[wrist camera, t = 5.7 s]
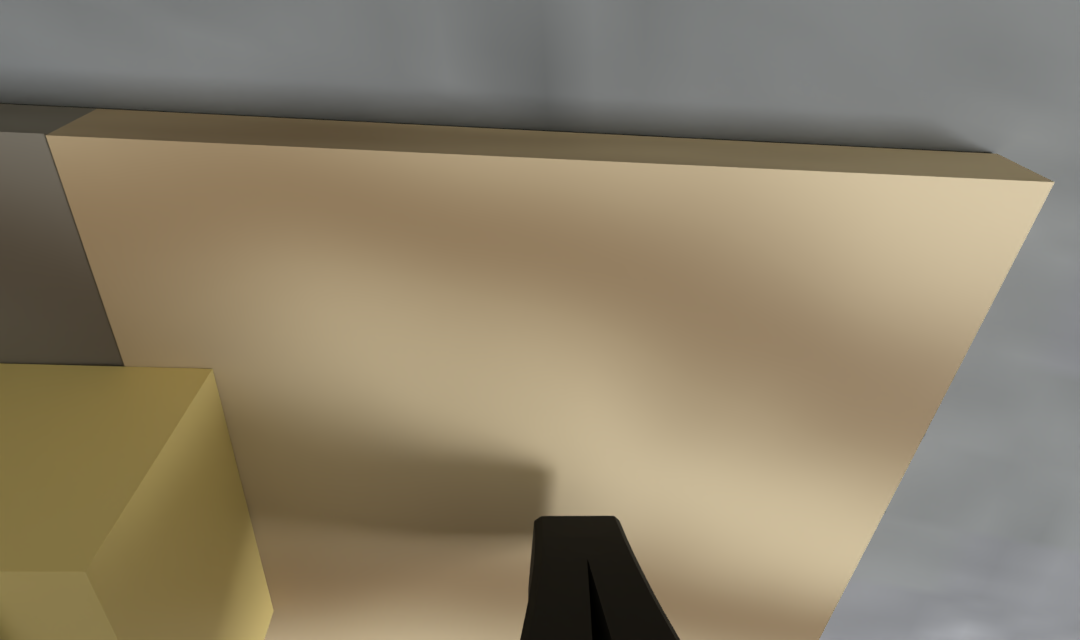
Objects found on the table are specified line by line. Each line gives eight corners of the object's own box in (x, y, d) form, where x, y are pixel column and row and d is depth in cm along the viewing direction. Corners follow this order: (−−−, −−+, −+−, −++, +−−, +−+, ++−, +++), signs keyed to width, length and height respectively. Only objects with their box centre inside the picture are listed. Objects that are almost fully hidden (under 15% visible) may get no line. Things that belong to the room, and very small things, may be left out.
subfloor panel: (723, 755, 20) (736, 800, 19) (36, 779, 18) (9, 830, 17) (997, 154, 10) (1054, 181, 9) (-492, 79, 8) (-630, 103, 7)
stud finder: (273, 610, 13) (200, 836, 10) (7, 611, 13) (-158, 845, 9) (213, 368, 10) (75, 588, 7) (-149, 359, 9) (-477, 588, 6)
